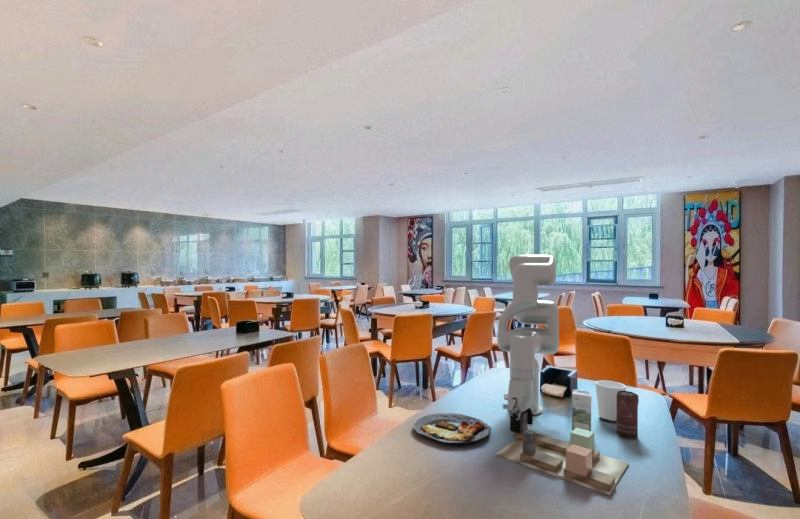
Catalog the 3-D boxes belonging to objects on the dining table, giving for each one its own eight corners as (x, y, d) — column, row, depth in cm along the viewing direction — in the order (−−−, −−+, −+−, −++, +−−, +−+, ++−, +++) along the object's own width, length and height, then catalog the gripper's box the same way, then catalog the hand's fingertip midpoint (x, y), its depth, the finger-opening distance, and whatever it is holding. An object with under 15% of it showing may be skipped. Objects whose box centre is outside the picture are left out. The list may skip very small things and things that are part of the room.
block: (565, 469, 105) (565, 450, 105) (572, 462, 108) (572, 444, 108) (585, 476, 101) (586, 456, 101) (591, 469, 105) (592, 449, 105)
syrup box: (591, 434, 133) (591, 390, 133) (591, 441, 127) (591, 395, 127) (572, 431, 135) (572, 388, 135) (571, 438, 130) (571, 393, 130)
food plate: (503, 432, 133) (503, 421, 134) (464, 456, 116) (463, 444, 117) (443, 414, 150) (442, 405, 151) (400, 434, 133) (400, 423, 134)
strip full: (513, 437, 128) (513, 413, 128) (520, 432, 131) (520, 409, 131) (594, 462, 112) (594, 435, 112) (599, 456, 115) (599, 430, 116)
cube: (570, 449, 116) (570, 432, 116) (576, 444, 120) (576, 427, 120) (588, 455, 113) (588, 437, 113) (594, 449, 116) (594, 432, 117)
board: (496, 455, 117) (496, 453, 117) (526, 434, 132) (526, 432, 132) (609, 495, 97) (609, 492, 97) (628, 465, 112) (628, 463, 112)
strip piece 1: (520, 459, 113) (520, 432, 113) (527, 453, 117) (527, 427, 117) (556, 472, 106) (556, 443, 106) (562, 465, 110) (562, 437, 110)
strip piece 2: (563, 475, 105) (563, 469, 105) (570, 468, 109) (570, 462, 109) (609, 492, 98) (609, 484, 98) (615, 483, 101) (615, 476, 101)
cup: (596, 421, 144) (596, 386, 144) (594, 412, 153) (594, 379, 153) (628, 426, 140) (628, 389, 140) (624, 416, 149) (624, 382, 149)
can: (641, 440, 128) (641, 396, 129) (619, 438, 130) (620, 395, 130) (634, 432, 134) (634, 390, 135) (613, 431, 136) (614, 389, 136)
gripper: (522, 366, 138) (522, 417, 138) (498, 376, 125) (497, 432, 124) (544, 370, 133) (543, 423, 133) (521, 381, 120) (520, 439, 120)
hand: (521, 427), depth 129 cm, fingers open, 8 cm apart
